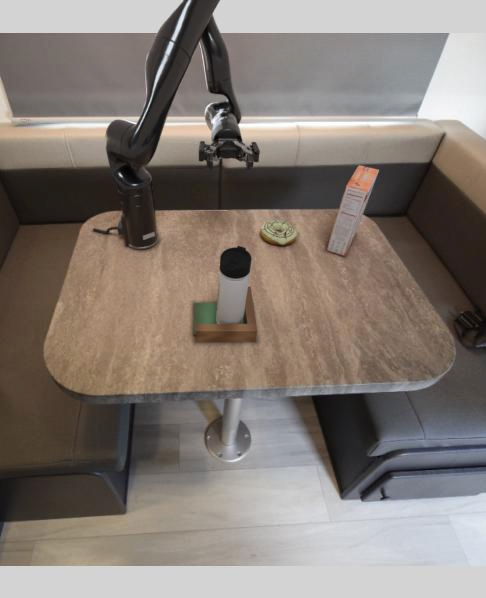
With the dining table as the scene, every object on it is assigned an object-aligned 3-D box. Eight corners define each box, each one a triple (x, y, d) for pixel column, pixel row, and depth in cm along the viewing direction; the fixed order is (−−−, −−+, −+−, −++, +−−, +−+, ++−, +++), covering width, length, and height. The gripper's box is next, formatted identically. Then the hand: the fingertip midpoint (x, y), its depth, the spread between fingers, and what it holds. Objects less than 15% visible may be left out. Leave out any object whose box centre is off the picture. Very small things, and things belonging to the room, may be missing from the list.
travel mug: (246, 317, 84) (257, 250, 70) (236, 336, 80) (245, 269, 65) (222, 308, 86) (227, 241, 71) (211, 327, 81) (214, 260, 67)
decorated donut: (285, 252, 102) (288, 242, 100) (253, 239, 106) (255, 229, 104) (300, 235, 108) (303, 225, 106) (270, 223, 112) (271, 213, 110)
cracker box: (337, 227, 112) (358, 163, 97) (356, 233, 110) (381, 169, 95) (324, 250, 103) (345, 184, 88) (344, 257, 101) (370, 190, 86)
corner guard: (193, 342, 79) (193, 330, 76) (193, 297, 88) (193, 286, 86) (255, 342, 79) (257, 330, 76) (249, 297, 89) (250, 286, 86)
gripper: (198, 121, 87) (198, 148, 76) (255, 122, 87) (264, 149, 76) (198, 151, 92) (198, 180, 81) (252, 152, 93) (259, 181, 81)
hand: (230, 165), depth 78 cm, fingers open, 8 cm apart
